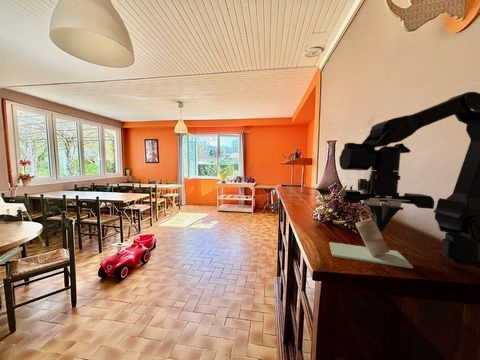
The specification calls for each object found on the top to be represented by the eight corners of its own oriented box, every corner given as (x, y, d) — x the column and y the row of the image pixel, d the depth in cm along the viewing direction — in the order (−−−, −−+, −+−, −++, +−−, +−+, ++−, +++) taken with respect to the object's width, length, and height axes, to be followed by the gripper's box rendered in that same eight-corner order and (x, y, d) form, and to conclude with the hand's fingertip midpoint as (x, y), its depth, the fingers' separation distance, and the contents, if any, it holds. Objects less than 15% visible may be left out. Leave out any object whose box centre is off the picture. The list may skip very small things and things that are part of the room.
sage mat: (397, 252, 54) (397, 251, 54) (413, 268, 46) (413, 266, 46) (329, 243, 60) (329, 242, 60) (332, 256, 52) (332, 254, 52)
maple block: (384, 245, 53) (370, 218, 54) (389, 251, 50) (374, 222, 50) (368, 250, 55) (355, 223, 55) (372, 256, 51) (358, 227, 51)
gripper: (414, 171, 55) (409, 227, 56) (339, 169, 61) (336, 219, 62) (438, 172, 45) (432, 240, 46) (345, 169, 51) (341, 230, 52)
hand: (379, 231), depth 52 cm, fingers closed
